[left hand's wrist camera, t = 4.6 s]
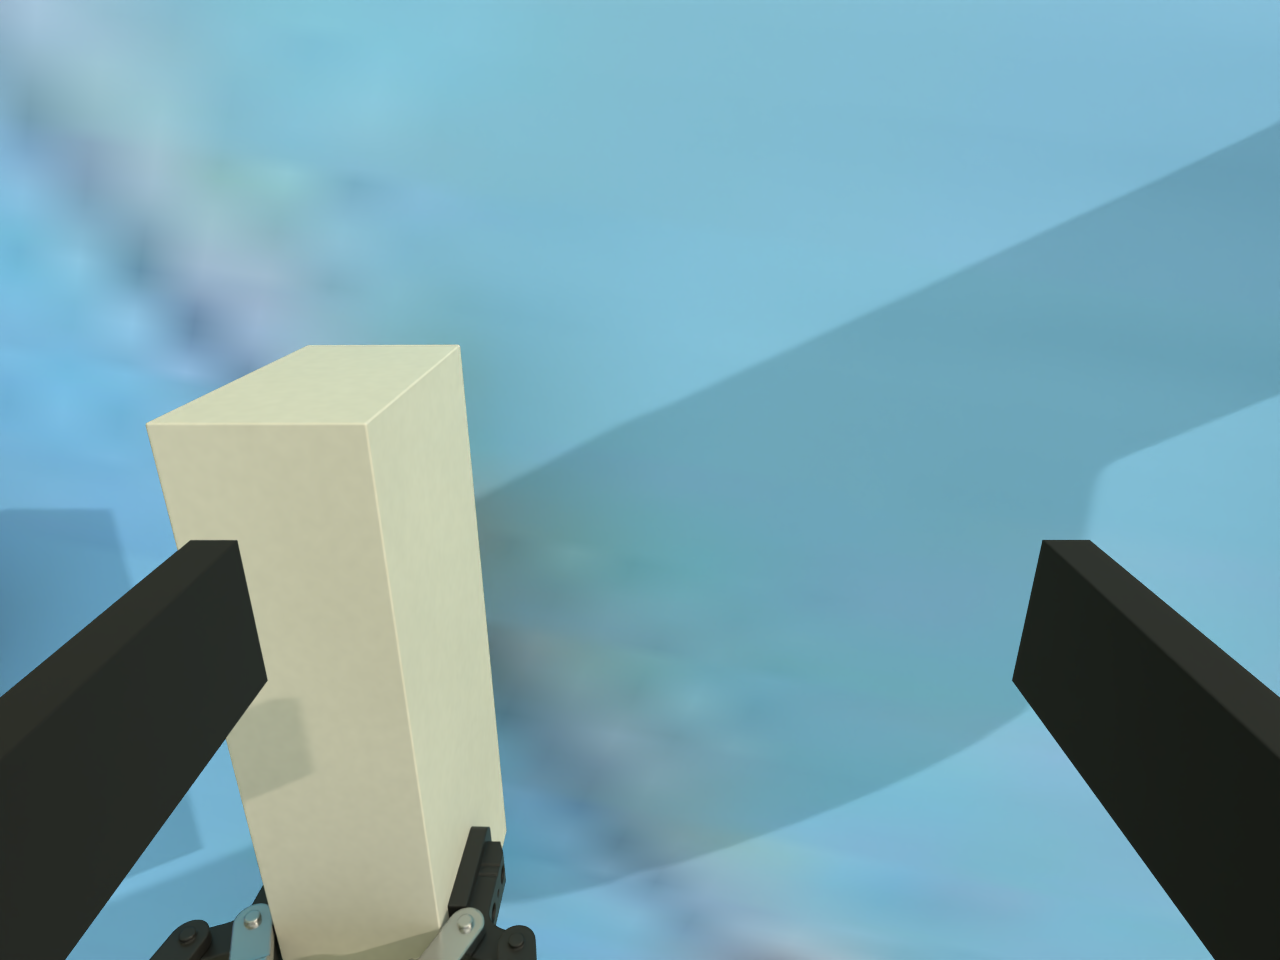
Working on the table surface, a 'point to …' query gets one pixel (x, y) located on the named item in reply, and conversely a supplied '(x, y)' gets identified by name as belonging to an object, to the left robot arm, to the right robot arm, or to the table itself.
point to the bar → (351, 633)
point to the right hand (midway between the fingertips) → (404, 842)
